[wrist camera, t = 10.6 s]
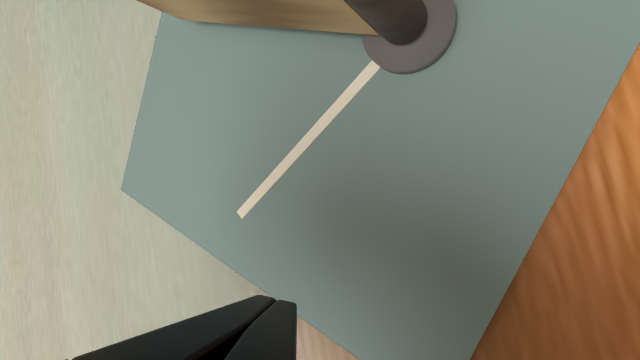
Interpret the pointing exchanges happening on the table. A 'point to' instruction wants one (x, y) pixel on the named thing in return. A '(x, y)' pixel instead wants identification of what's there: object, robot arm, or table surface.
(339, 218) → the board
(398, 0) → the gate
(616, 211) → the table surface
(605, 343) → the table surface
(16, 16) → the table surface
